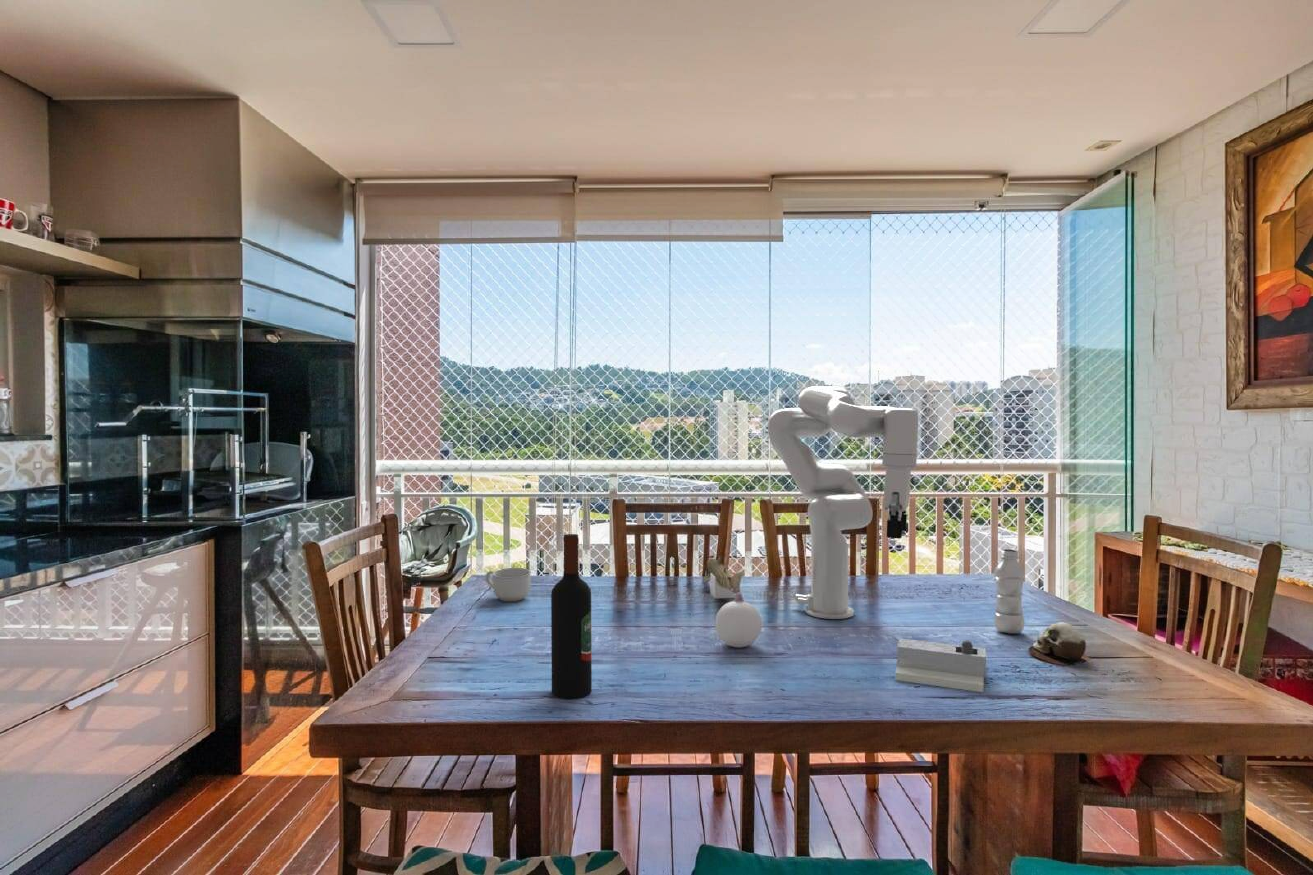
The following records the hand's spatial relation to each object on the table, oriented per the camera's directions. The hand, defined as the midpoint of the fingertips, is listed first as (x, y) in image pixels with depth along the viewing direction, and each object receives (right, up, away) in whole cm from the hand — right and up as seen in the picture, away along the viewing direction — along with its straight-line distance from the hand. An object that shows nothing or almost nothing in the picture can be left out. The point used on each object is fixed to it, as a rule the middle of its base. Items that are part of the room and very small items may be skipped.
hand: (896, 534), depth 169 cm
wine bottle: (-72, -26, -31) cm, 83 cm away
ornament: (-37, -25, -4) cm, 45 cm away
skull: (+32, -26, -11) cm, 42 cm away
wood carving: (-36, -24, +41) cm, 60 cm away
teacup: (-99, -24, +40) cm, 109 cm away
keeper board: (+2, -26, -22) cm, 34 cm away
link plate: (+2, -24, -22) cm, 33 cm away
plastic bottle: (+29, -25, +6) cm, 39 cm away
